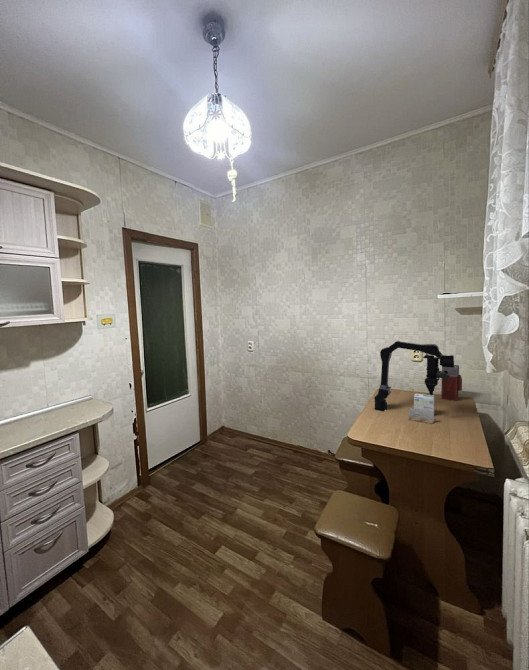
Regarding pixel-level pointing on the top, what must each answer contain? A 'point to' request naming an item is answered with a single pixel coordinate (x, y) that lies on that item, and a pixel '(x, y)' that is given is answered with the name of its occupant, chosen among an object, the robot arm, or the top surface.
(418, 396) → the light bulb box
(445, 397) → the red thermos jug
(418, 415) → the grey thin panel
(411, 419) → the shelf plank
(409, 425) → the top surface
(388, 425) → the top surface
